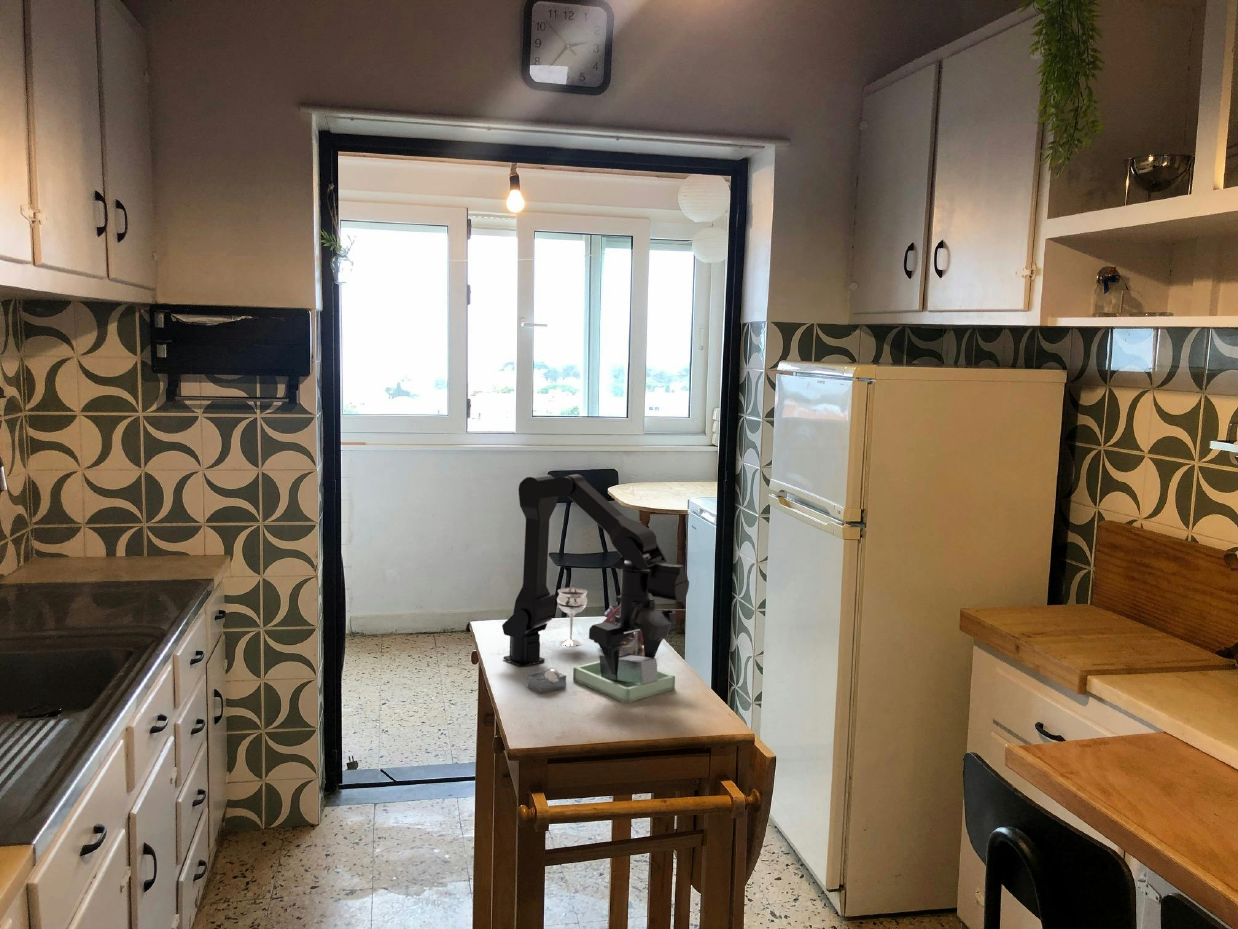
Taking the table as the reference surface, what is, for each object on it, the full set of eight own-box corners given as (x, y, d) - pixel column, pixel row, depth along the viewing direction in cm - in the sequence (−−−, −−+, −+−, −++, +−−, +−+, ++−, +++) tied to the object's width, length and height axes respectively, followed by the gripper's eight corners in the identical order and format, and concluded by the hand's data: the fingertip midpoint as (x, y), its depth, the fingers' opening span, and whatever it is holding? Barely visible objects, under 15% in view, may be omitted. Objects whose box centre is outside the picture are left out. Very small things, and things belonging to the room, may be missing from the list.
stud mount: (527, 687, 186) (528, 667, 185) (551, 681, 190) (552, 661, 189) (543, 695, 182) (544, 674, 181) (568, 688, 186) (568, 668, 185)
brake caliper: (602, 650, 203) (598, 598, 209) (594, 667, 212) (591, 616, 218) (654, 650, 205) (649, 598, 211) (644, 666, 214) (640, 616, 220)
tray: (572, 679, 191) (573, 667, 191) (620, 667, 200) (621, 655, 199) (626, 703, 179) (626, 689, 179) (674, 689, 188) (675, 676, 188)
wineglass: (589, 646, 213) (591, 594, 211) (559, 648, 211) (561, 595, 209) (581, 638, 219) (583, 587, 218) (552, 639, 217) (554, 588, 216)
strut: (601, 677, 191) (599, 655, 191) (617, 673, 194) (616, 651, 194) (642, 684, 182) (640, 660, 182) (658, 679, 185) (657, 656, 185)
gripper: (628, 609, 174) (624, 691, 175) (698, 595, 186) (694, 672, 188) (588, 596, 182) (585, 675, 183) (658, 583, 194) (654, 657, 196)
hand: (631, 670), depth 187 cm, fingers open, 9 cm apart
